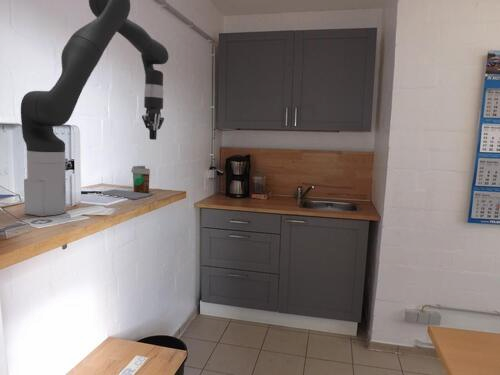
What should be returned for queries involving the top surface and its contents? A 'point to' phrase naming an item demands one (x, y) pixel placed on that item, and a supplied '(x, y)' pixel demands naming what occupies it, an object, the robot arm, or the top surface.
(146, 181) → the food container
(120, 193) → the mat
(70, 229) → the top surface
